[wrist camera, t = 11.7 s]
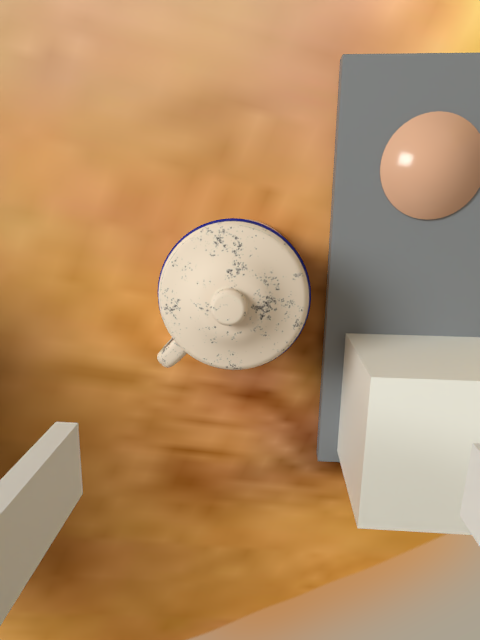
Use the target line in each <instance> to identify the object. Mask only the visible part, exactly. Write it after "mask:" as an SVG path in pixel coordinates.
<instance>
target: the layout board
mask: <svg viewBox="0 0 480 640" xmlns="http://www.w3.org/2000/svg"><path fill="white" fill-rule="evenodd" d="M346 333H354V334H387V335H421V336H454V337H480V53H417V54H343V55H342V57H341V60H340V72H339V89H338V106H337V123H336V139H335V156H334V173H333V189H332V206H331V223H330V239H329V256H328V273H327V289H326V306H325V323H324V339H323V356H322V373H321V389H320V406H319V423H318V439H317V458H318V461H327V462H340V460H339V456H338V452H337V447H338V433H339V419H340V405H341V392H342V378H343V364H344V350H345V337H346Z"/></svg>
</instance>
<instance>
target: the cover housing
mask: <svg viewBox="0 0 480 640" xmlns="http://www.w3.org/2000/svg"><path fill="white" fill-rule="evenodd" d="M472 443H480V337H454V336H421V335H387V334H354V333H346V337H345V350H344V364H343V378H342V392H341V405H340V419H339V433H338V447H337V452H338V456H339V460H340V464H341V467H342V471H343V475H344V479H345V483H346V486H347V490H348V494H349V498H350V502H351V505H352V509H353V513H354V517H355V521H356V524H357V528H362V529H379V530H396V531H413V532H430V533H447V534H464V535H472V534H471V532H470V531H469V529H468V528H467V526H466V525H465V523H464V521H463V520H462V518H461V517H460V510H461V504H462V499H463V493H464V487H465V482H466V476H467V471H468V465H469V459H470V454H471V448H472Z"/></svg>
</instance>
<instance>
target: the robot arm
mask: <svg viewBox="0 0 480 640" xmlns="http://www.w3.org/2000/svg"><path fill="white" fill-rule="evenodd" d="M82 494H83V487H82V472H81V457H80V442H79V427H78V423H72V422H55V423H54V424H53V425H52V426H51V427H50V429H49V430H48V431H47V432H46V433H45V434H44V435H43V436H42V437H41V438H40V439H39V440H38V441H37V442H36V443H35V444H34V445H33V446H32V447H31V448H30V449H29V450H28V451H27V453H26V454H25V455H24V456H23V457H22V458H21V459H20V460H19V461H18V462H17V463H16V464H15V465H14V466H13V467H12V468H11V469H10V470H9V471H8V472H7V473H6V474H5V475H4V477H3V478H2V479H1V480H0V625H1V624H2V622H3V621H4V619H5V617H6V616H7V614H8V613H9V611H10V609H11V608H12V606H13V605H14V603H15V601H16V600H17V598H18V597H19V595H20V593H21V592H22V590H23V589H24V587H25V585H26V584H27V582H28V581H29V579H30V577H31V576H32V574H33V573H34V571H35V569H36V568H37V566H38V565H39V563H40V561H41V560H42V558H43V557H44V555H45V553H46V552H47V550H48V549H49V547H50V545H51V544H52V542H53V541H54V539H55V537H56V536H57V534H58V533H59V531H60V529H61V528H62V526H63V525H64V523H65V521H66V520H67V518H68V517H69V515H70V513H71V512H72V510H73V509H74V507H75V505H76V504H77V502H78V501H79V499H80V497H81V496H82ZM460 517H461V518H462V520H463V521H464V523H465V525H466V526H467V528H468V529H469V531H470V532H471V534H472V536H473V537H474V539H475V540H476V542H477V543H478V545H479V546H480V443H472V448H471V454H470V459H469V465H468V471H467V476H466V482H465V487H464V493H463V499H462V504H461V510H460Z"/></svg>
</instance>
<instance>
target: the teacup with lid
mask: <svg viewBox="0 0 480 640" xmlns="http://www.w3.org/2000/svg"><path fill="white" fill-rule="evenodd" d="M310 302H311V288H310V281H309V277H308V273H307V270H306V267H305V265H304V263H303V261H302V259H301V257H300V256H299V254H298V253H297V251H296V250H295V248H294V247H293V246H292V245H291V244H290V243H289V242H288V241H287V240H286V239H285V238H284V237H283V236H282V235H281V234H280V233H279V232H278V231H276V230H275V229H273V228H272V227H270V226H268V225H266V224H264V223H261V222H258V221H254V220H248V219H234V218H232V219H221V220H216V221H212V222H209V223H206V224H203V225H201V226H199V227H197V228H195V229H194V230H192V231H190V232H189V233H188V234H186V235H185V236H184V237H183V238H182V239H181V240H179V241H178V243H177V244H176V245H175V246H174V247H173V249H172V250H171V251H170V253H169V254H168V256H167V258H166V260H165V262H164V264H163V267H162V270H161V273H160V277H159V282H158V303H159V309H160V313H161V316H162V319H163V321H164V324H165V326H166V328H167V330H168V332H169V333H170V335H171V336H172V338H171V339H170V340H169V341H168V343H167V344H166V345H165V346H164V347H163V348H162V349H161V351H160V352H159V353H158V356H157V359H158V361H159V362H160V363H161V364H162V365H163V366H164V367H167V368H168V367H171V366H173V365H174V364H176V363H177V362H178V361H179V360H180V359H181V358H183V357H184V356H185V355H186V354H187V353H188V354H189V355H190V356H192V357H193V358H195V359H197V360H198V361H200V362H202V363H205V364H207V365H210V366H213V367H217V368H221V369H229V370H241V369H249V368H254V367H257V366H260V365H263V364H265V363H268V362H270V361H272V360H274V359H275V358H277V357H278V356H280V355H281V354H282V353H284V352H285V351H286V350H287V349H288V348H289V347H290V346H291V345H292V344H293V343H294V342H295V340H296V339H297V338H298V336H299V335H300V333H301V331H302V329H303V328H304V325H305V323H306V320H307V317H308V314H309V309H310Z"/></svg>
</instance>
